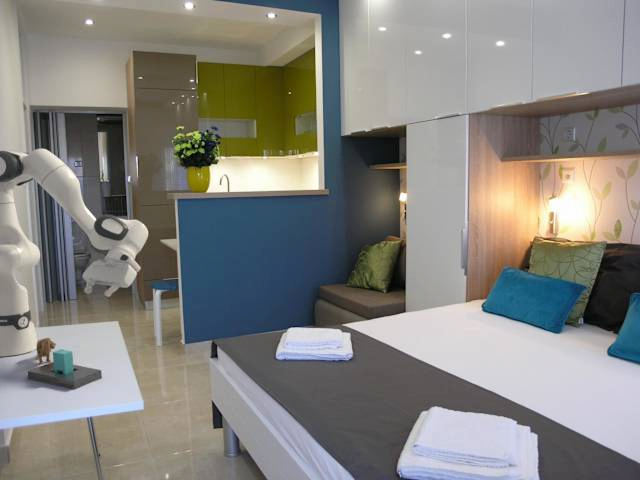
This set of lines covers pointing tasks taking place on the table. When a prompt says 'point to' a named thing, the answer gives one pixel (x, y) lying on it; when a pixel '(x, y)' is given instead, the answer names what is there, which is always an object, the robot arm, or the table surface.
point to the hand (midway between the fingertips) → (96, 294)
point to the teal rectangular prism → (63, 361)
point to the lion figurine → (44, 349)
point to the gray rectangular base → (65, 376)
